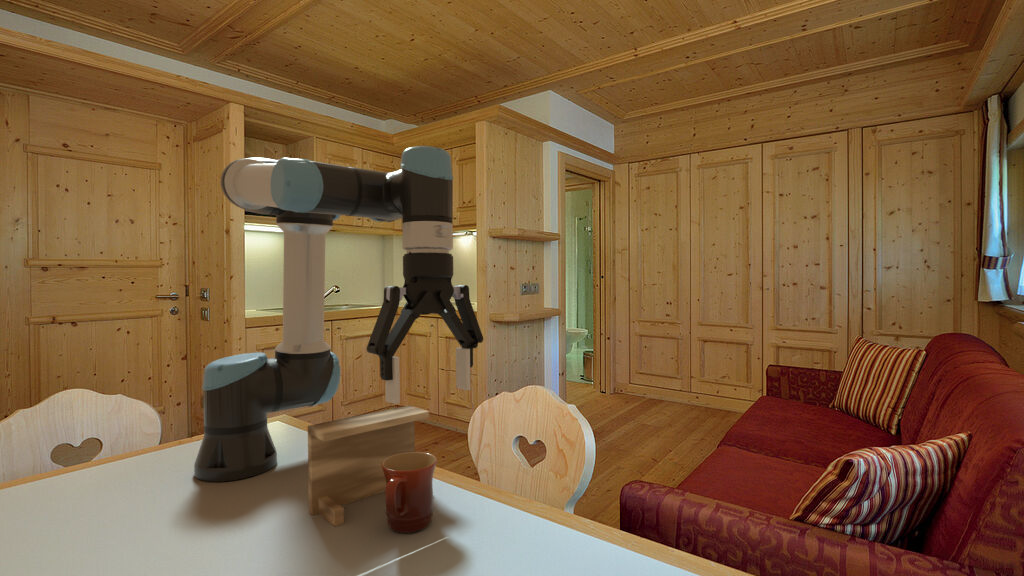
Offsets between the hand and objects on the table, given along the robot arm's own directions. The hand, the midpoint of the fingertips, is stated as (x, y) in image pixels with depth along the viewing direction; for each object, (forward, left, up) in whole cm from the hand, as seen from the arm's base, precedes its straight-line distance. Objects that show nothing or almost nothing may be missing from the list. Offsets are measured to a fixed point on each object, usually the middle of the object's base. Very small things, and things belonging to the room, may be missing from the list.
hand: (429, 395), depth 77 cm
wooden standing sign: (-21, 0, -22) cm, 30 cm away
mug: (-5, -1, -22) cm, 23 cm away
